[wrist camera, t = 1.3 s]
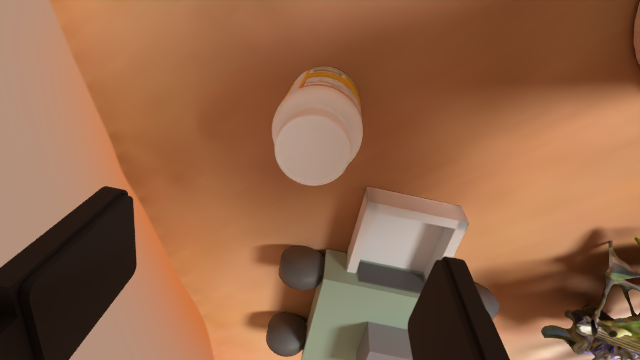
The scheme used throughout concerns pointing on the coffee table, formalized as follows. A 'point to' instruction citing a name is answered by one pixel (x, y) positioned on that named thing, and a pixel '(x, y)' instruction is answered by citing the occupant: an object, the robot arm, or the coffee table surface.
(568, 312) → the passion flower
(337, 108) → the supplement bottle
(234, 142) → the coffee table surface
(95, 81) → the coffee table surface
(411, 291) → the green wheeled cart
